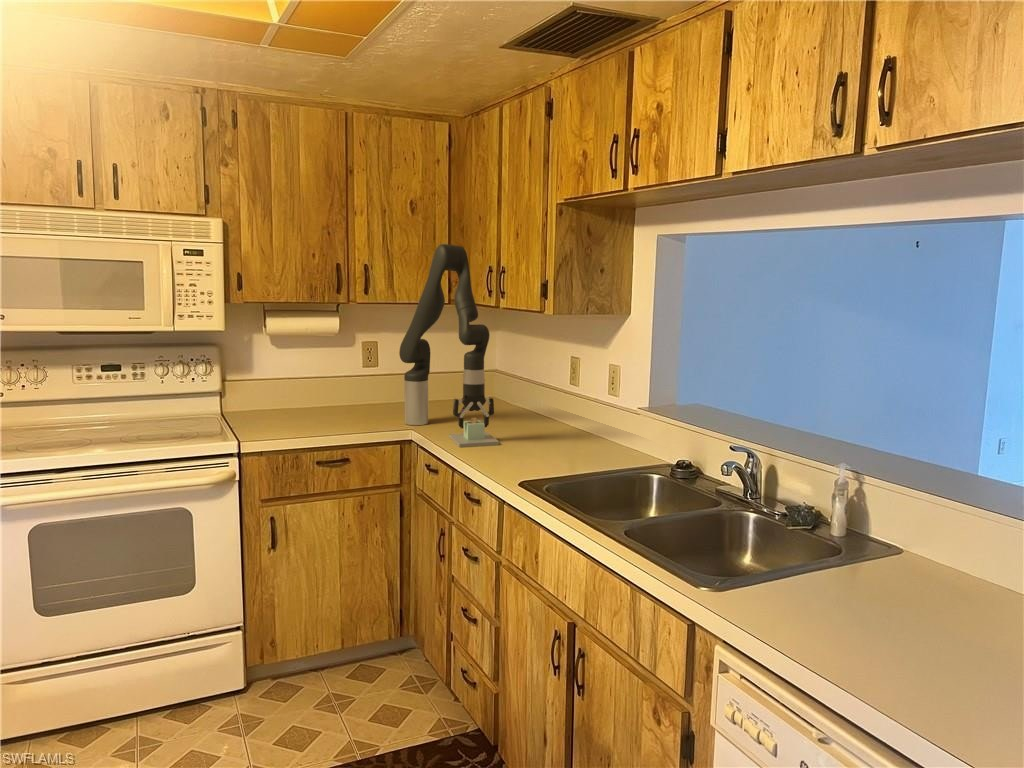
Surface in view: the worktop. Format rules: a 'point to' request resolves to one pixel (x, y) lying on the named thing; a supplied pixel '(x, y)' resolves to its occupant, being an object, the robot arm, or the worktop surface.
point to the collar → (474, 430)
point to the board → (463, 442)
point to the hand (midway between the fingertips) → (473, 427)
